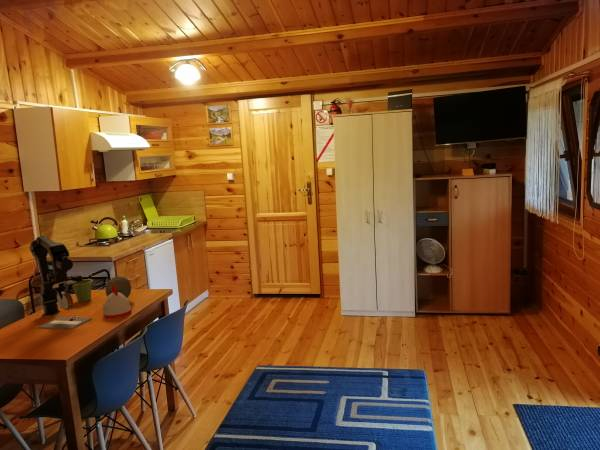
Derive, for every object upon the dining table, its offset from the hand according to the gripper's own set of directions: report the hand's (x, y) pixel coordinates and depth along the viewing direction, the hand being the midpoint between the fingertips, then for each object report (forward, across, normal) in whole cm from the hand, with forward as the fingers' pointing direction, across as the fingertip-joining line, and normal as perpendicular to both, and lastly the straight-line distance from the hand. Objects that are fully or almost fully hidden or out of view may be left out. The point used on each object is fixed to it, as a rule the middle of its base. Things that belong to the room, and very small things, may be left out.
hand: (64, 298), depth 238 cm
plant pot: (+12, -21, -31) cm, 40 cm away
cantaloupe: (+12, -31, -6) cm, 34 cm away
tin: (+6, 0, 0) cm, 6 cm away
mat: (+12, +2, +2) cm, 13 cm away
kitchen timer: (+13, -21, +12) cm, 27 cm away
